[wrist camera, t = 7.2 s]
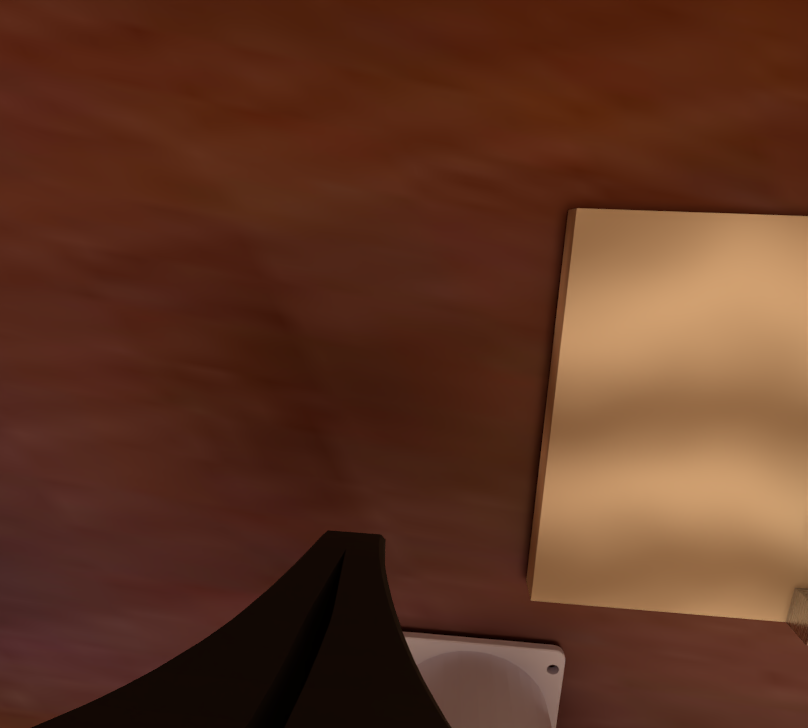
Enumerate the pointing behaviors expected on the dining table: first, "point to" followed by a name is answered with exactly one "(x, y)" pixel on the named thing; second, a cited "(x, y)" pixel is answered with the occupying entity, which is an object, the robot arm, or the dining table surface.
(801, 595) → the tongs fixed
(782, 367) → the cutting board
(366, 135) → the dining table surface
